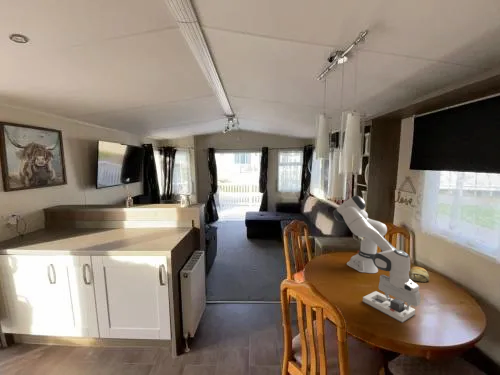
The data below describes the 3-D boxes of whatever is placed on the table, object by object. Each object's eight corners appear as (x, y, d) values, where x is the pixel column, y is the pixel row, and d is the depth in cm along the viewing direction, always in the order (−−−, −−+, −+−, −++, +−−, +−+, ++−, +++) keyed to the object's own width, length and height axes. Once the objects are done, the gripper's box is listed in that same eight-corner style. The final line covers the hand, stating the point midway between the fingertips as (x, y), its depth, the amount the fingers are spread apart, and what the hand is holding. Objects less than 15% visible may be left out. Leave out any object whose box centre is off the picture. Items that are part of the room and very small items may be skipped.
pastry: (418, 273, 179) (419, 263, 178) (434, 281, 167) (435, 270, 166) (402, 275, 176) (403, 264, 175) (417, 283, 164) (418, 272, 163)
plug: (389, 311, 132) (390, 300, 132) (395, 308, 135) (396, 297, 134) (398, 315, 128) (399, 305, 128) (403, 312, 131) (404, 301, 131)
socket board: (362, 301, 142) (363, 296, 142) (375, 295, 149) (375, 290, 148) (402, 323, 123) (402, 316, 123) (415, 314, 130) (415, 308, 130)
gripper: (376, 274, 137) (375, 297, 139) (416, 290, 120) (414, 317, 121) (383, 272, 140) (381, 294, 142) (423, 287, 123) (421, 313, 124)
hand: (397, 305), depth 131 cm, fingers open, 8 cm apart
